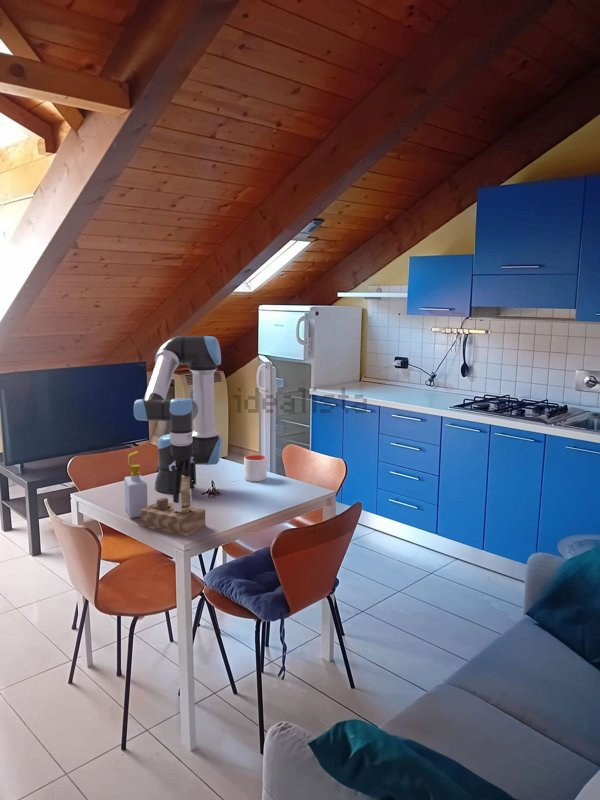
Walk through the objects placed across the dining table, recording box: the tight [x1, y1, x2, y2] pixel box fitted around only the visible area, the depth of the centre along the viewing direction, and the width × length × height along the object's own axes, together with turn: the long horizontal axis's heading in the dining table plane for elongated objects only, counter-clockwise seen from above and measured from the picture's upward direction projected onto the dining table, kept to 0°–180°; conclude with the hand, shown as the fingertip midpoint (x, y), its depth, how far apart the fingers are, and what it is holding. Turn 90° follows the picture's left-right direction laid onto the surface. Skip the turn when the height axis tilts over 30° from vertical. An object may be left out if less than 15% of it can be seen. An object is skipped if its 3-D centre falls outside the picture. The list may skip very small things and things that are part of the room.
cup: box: [243, 454, 268, 483], centre depth 277 cm, size 10×10×10 cm
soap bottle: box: [124, 450, 149, 519], centre depth 231 cm, size 12×7×23 cm, turn 23°
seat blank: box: [139, 497, 206, 537], centre depth 219 cm, size 20×11×9 cm, turn 64°
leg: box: [176, 475, 190, 515], centre depth 216 cm, size 5×5×15 cm
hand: (183, 508), depth 216 cm, fingers closed on leg, 5 cm apart
